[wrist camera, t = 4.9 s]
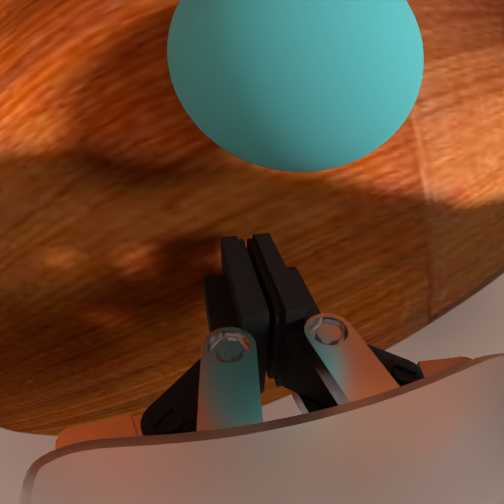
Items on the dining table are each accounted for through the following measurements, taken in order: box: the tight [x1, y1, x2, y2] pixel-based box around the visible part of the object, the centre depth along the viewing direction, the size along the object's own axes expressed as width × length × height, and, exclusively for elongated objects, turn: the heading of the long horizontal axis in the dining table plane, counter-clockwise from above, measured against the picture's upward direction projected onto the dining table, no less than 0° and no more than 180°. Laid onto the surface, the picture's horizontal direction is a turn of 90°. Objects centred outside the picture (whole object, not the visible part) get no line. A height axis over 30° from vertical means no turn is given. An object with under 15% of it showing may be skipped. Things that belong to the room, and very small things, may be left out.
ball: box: [167, 0, 424, 172], centre depth 7 cm, size 6×6×6 cm
